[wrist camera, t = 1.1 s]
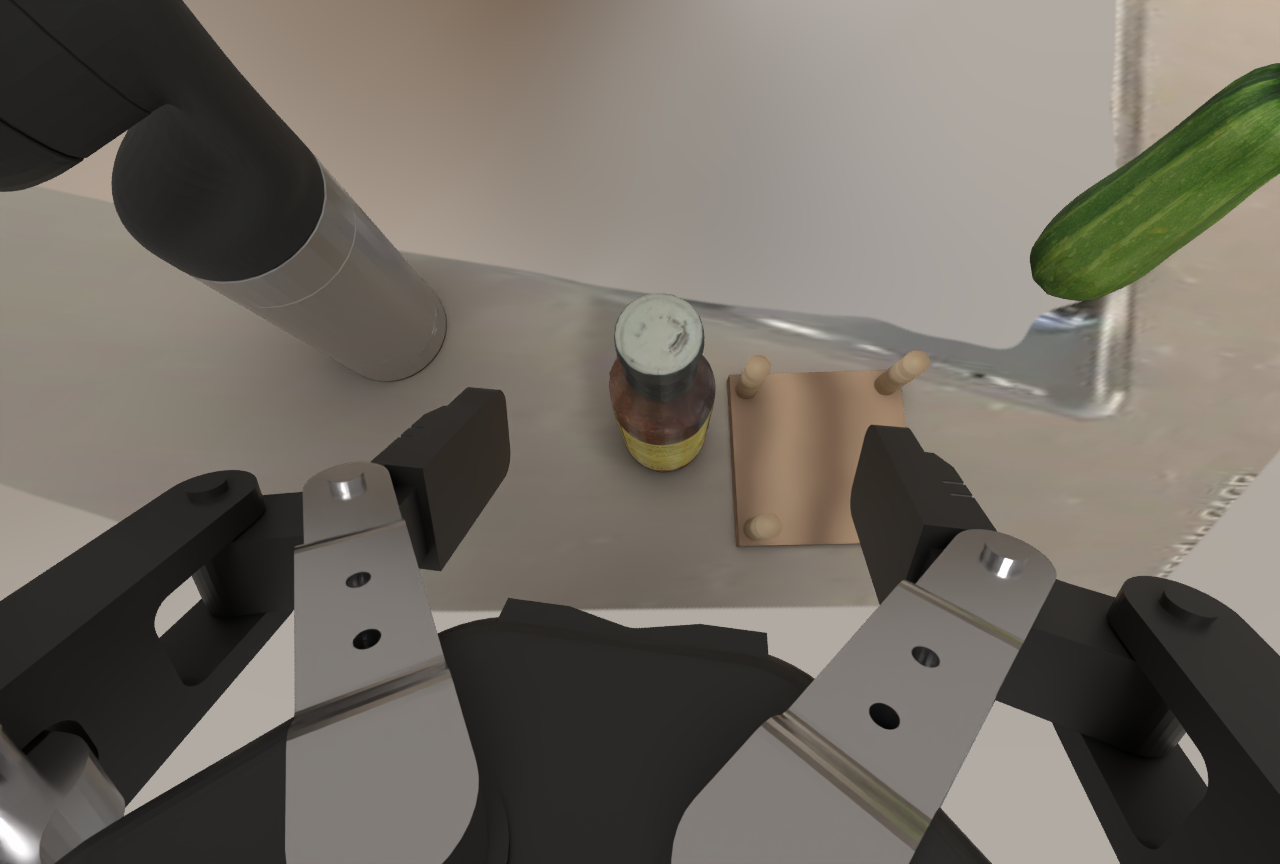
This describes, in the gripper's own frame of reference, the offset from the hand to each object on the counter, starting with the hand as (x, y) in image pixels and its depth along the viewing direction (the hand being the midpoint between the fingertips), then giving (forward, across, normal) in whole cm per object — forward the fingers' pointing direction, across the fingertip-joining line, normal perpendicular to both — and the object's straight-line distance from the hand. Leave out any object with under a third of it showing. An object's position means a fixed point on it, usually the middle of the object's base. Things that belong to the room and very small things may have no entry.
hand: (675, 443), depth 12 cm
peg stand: (+28, -9, +15) cm, 33 cm away
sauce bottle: (+28, +3, +15) cm, 32 cm away
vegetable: (+40, -28, +3) cm, 49 cm away
